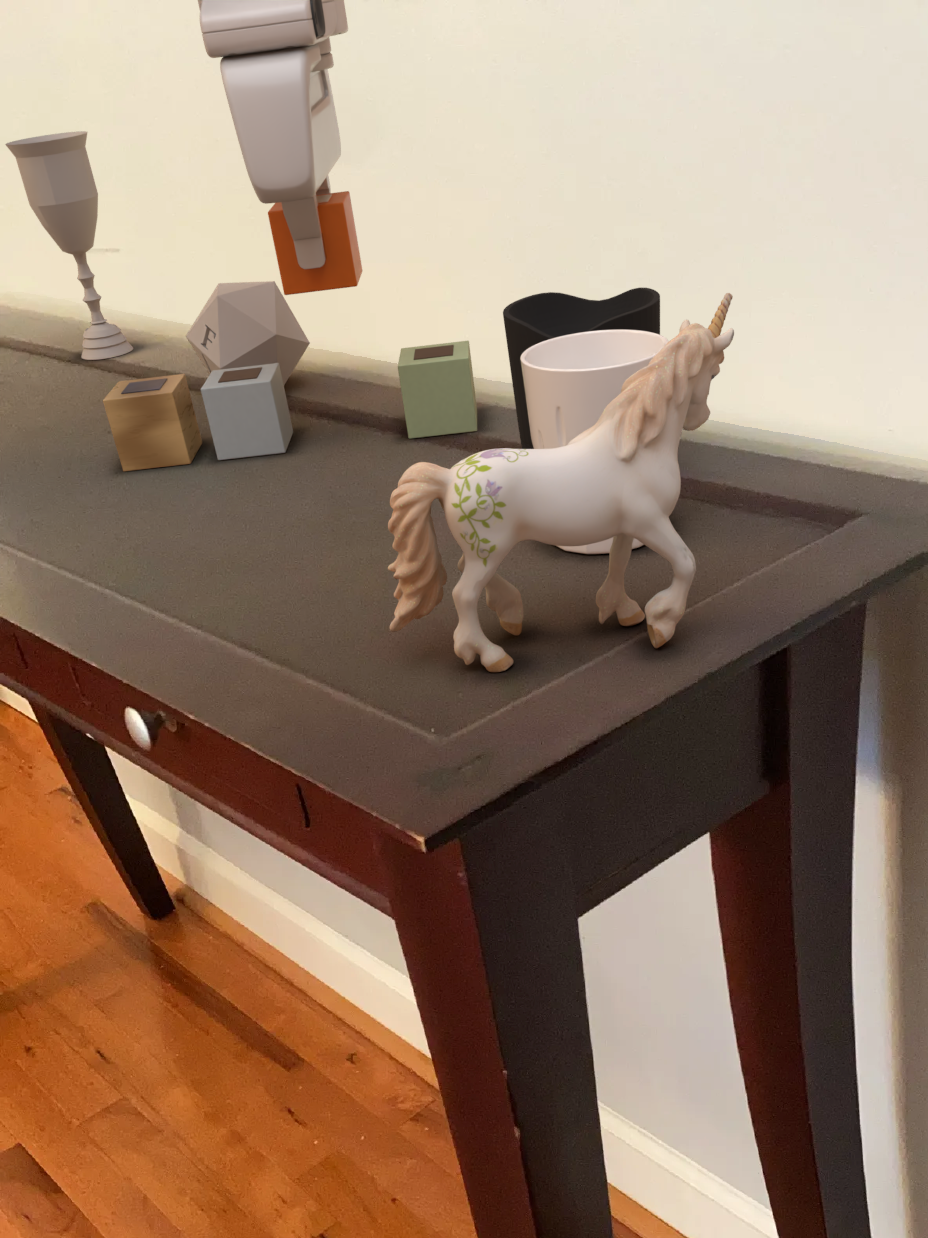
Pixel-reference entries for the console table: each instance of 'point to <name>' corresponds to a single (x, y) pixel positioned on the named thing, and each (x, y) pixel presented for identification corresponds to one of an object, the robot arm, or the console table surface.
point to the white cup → (581, 387)
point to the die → (247, 329)
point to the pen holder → (569, 328)
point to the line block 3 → (438, 389)
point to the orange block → (338, 243)
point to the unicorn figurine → (564, 502)
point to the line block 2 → (247, 411)
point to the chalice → (69, 219)
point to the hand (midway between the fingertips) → (318, 257)
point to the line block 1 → (153, 422)
